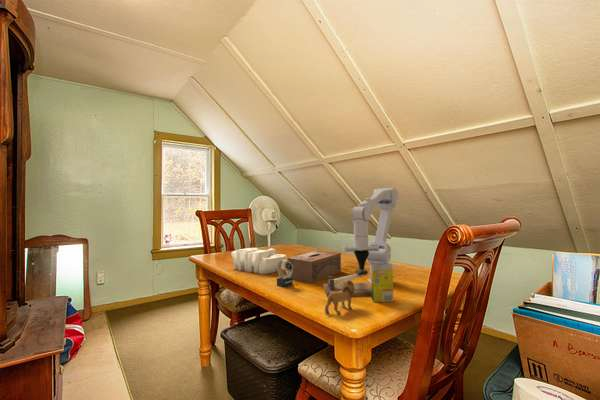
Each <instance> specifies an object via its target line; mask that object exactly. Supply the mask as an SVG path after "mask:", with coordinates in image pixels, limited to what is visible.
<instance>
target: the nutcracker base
mask: <svg viewBox="0 0 600 400" xmlns="http://www.w3.org/2000/svg"><path fill="white" fill-rule="evenodd" d="M330 278H331V279H330ZM329 279H330V284H329V282H328V281H327V283H323V284H322V288H323V291H324V292H325V295H326V298H328V296H329V294H330V293H331V292H339V291H341V290H342V289H343V282H342V283H341V282H337V283H334V279H335V278H333V275H331V276H328V277H327V280H329ZM353 284H354V295H353V297H368V296H369V297H372V285H370V284H369V283H368V282H353Z"/></svg>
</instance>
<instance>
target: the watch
mask: <svg viewBox="0 0 600 400" xmlns="http://www.w3.org/2000/svg"><path fill="white" fill-rule="evenodd" d="M282 262H283V265H282V267H281V264H282ZM277 270H278V271H277V273H278V276H279V277H276V286H277V287H280V288H286V287H289V286H292V285H293V283H294V282H293V281H294V279H293V278H292V277H290V276H291V275H292V273H293V264H292V263H291V262H290V261H288V260H287V259H285V260H281V261H279V262H278V265H277ZM284 272H286V273H284ZM285 274H287V275H285Z"/></svg>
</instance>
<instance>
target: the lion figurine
mask: <svg viewBox="0 0 600 400" xmlns="http://www.w3.org/2000/svg"><path fill="white" fill-rule="evenodd" d="M342 283H343V289H342V290H341V291H339V292H331V293H330V294H329V296H328V297H327V303H326V304H325V307H324V313H325V314H326V316H328V315H329V312H330V311H329V309H330V307H329V306H330V305H331V304H332V303H333V307H334V308H333V309H334V311H335V312H336V314H341V310H338V306H339V303H341V308H345V307H346V305H345V304H346V303H345V302H346V301H347V308H348V309H349V310H352V309H353V307H352V306H351V304H352V298H354V296H353V295H354V284H353V283H354V282H353V281H352V279H350V280H346V281H342Z"/></svg>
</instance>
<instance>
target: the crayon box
mask: <svg viewBox="0 0 600 400" xmlns="http://www.w3.org/2000/svg"><path fill="white" fill-rule="evenodd" d="M382 271H384V272H387V273H379V272H382ZM371 282H372V284H371V287H372V296H371V300H372V301H373V302H374V303H380V302H381V303H383V302H384V303H385V302H387V303H389V302H392V303H393V302H394V301H395V300H394V284H393V283H394V275H392V270H373V274H371Z"/></svg>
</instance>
